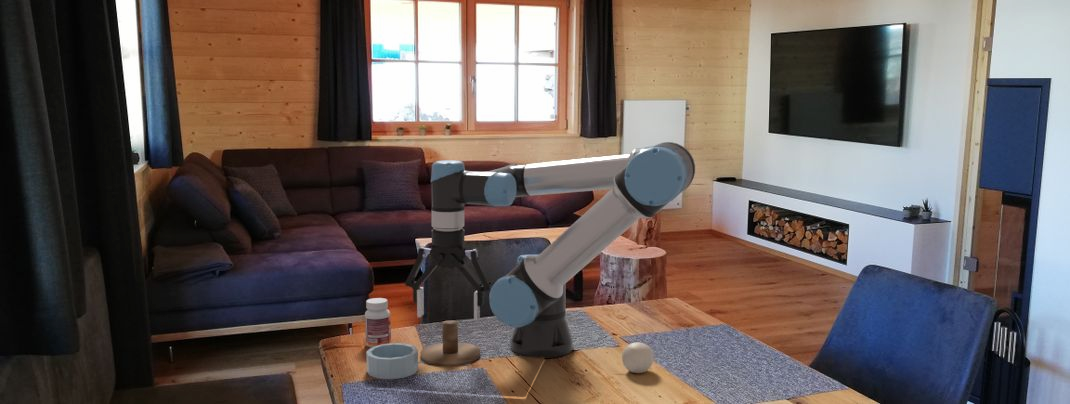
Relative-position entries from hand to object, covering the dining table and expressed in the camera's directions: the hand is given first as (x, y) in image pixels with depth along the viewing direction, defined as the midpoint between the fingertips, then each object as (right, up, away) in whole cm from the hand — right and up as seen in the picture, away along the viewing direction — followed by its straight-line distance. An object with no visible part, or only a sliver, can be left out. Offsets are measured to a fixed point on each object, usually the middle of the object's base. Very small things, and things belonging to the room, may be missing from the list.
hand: (448, 317), depth 200 cm
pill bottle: (-18, -8, +11) cm, 23 cm away
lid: (0, -9, +1) cm, 9 cm away
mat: (0, -10, +1) cm, 10 cm away
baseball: (+43, -11, -8) cm, 45 cm away
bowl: (-12, -11, -9) cm, 18 cm away
